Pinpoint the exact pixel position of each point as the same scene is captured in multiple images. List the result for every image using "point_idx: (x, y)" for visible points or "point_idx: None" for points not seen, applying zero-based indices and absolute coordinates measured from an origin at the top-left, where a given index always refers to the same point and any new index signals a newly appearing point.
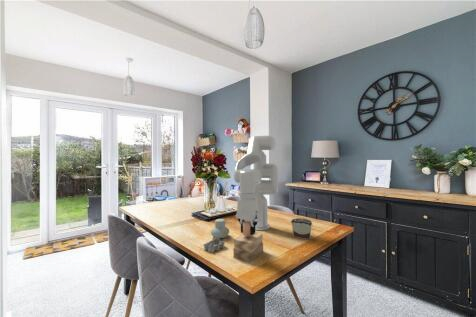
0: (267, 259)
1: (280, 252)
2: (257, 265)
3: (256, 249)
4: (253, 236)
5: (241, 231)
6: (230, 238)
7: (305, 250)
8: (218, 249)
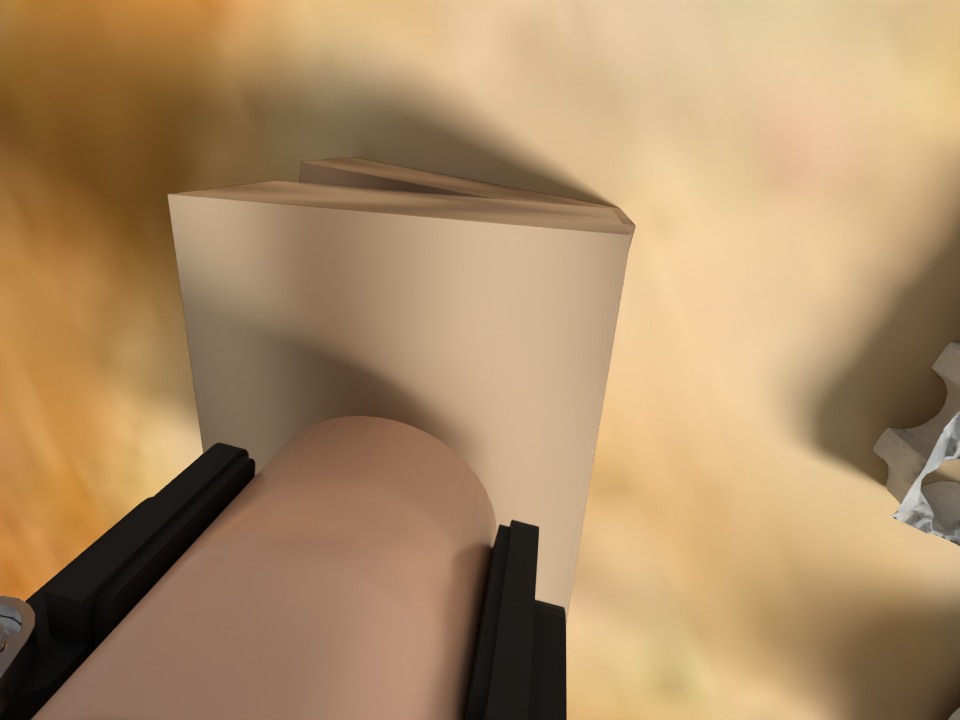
0: None
1: None
2: (226, 107)
3: None
4: None
5: (521, 539)
6: (860, 702)
7: None
8: (944, 352)
